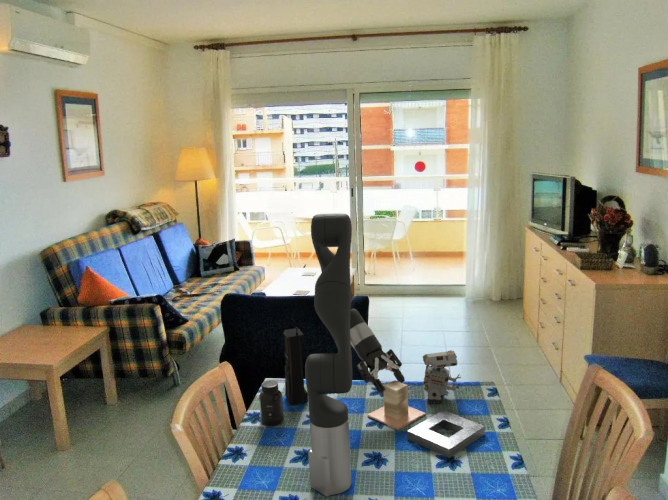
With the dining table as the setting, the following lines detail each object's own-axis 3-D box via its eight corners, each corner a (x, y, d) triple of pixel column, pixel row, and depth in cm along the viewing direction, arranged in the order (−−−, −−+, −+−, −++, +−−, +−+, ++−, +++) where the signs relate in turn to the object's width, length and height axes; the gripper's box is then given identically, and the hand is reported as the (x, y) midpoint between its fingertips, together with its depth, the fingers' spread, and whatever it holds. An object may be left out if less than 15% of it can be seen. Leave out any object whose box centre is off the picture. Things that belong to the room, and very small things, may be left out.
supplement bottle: (257, 426, 175) (254, 388, 172) (265, 415, 181) (262, 378, 179) (279, 428, 173) (276, 389, 170) (287, 416, 180) (284, 379, 177)
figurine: (460, 405, 181) (460, 359, 178) (422, 403, 183) (421, 357, 180) (460, 392, 190) (460, 347, 186) (424, 390, 192) (423, 346, 189)
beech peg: (397, 419, 173) (396, 390, 171) (384, 414, 177) (383, 385, 175) (408, 413, 177) (407, 385, 175) (395, 408, 180) (394, 380, 178)
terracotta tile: (398, 430, 168) (398, 428, 168) (367, 416, 177) (367, 414, 177) (425, 414, 176) (425, 412, 176) (394, 402, 185) (394, 400, 185)
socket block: (449, 458, 153) (449, 449, 153) (407, 439, 164) (407, 430, 163) (484, 434, 164) (484, 426, 163) (443, 417, 174) (443, 409, 174)
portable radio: (284, 395, 193) (278, 322, 188) (302, 392, 195) (297, 319, 190) (289, 406, 186) (284, 330, 181) (308, 402, 188) (303, 327, 183)
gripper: (352, 341, 174) (383, 389, 169) (385, 328, 184) (415, 373, 178) (341, 353, 179) (370, 400, 173) (373, 340, 189) (402, 384, 183)
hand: (393, 386), depth 176 cm, fingers open, 8 cm apart
